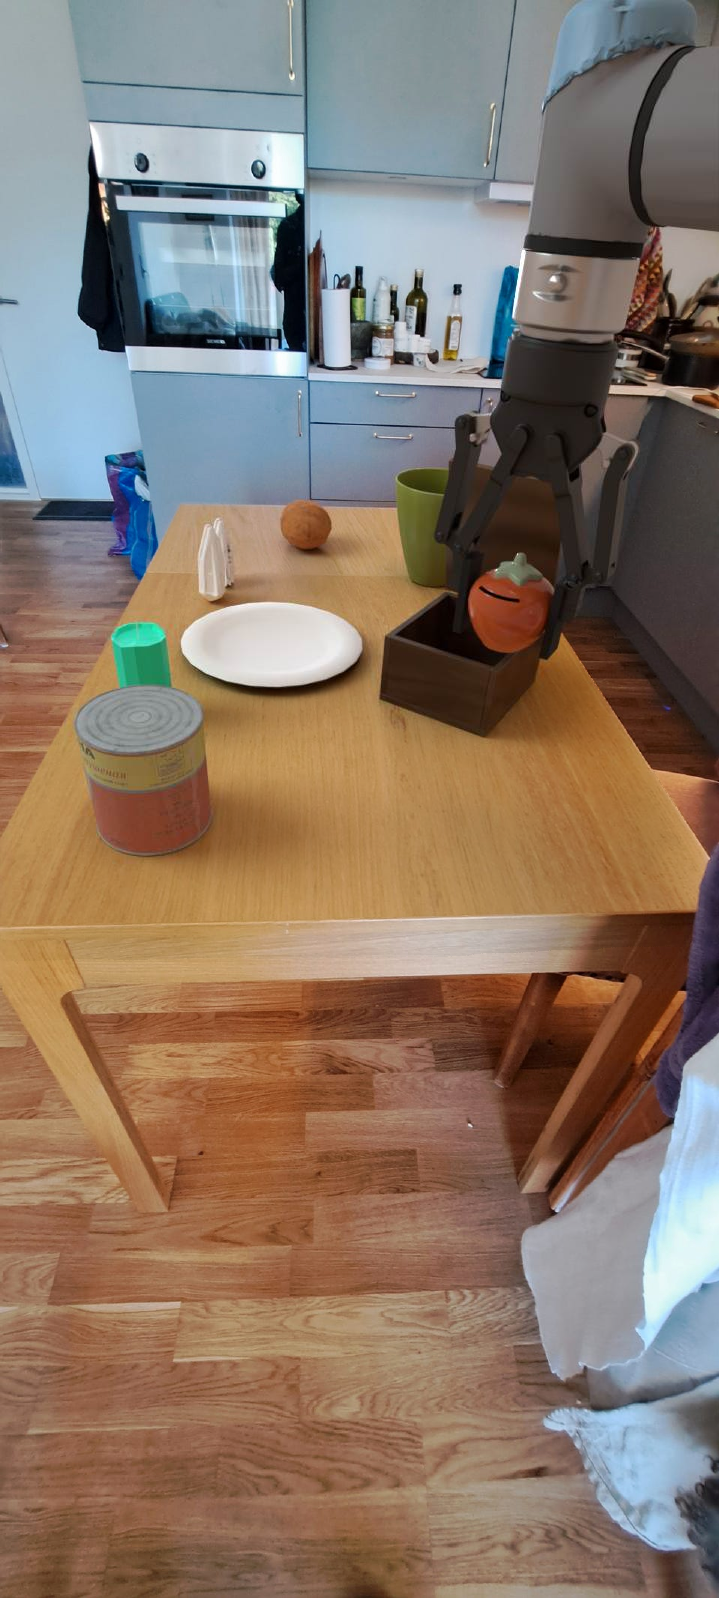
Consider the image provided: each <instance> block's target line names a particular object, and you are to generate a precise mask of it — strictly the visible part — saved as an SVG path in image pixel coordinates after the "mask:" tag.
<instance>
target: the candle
mask: <svg viewBox="0 0 719 1598" xmlns="http://www.w3.org/2000/svg"><path fill="white" fill-rule="evenodd" d="M134 621H135V622H127V623H125V624H122V625H120V626H118V627H116V628H115V630H114V631H113V632H112V634H111V636H110V640H111V646H112V652H113V659H114V663H115V669H116V675H117V680H118V688H121V687H127V686H134V685H161V686H167V687H172V688H173V685H172V676H171V668H170V660H169V651H168V644H167V643H168V642H167V636H166V632H165V629H164V628H162V627H161V626H160V625H158V624H157V623H156V622H147V621H146V622H145V621H142V622H141V621H140V622H138V621H136V620H134Z"/></svg>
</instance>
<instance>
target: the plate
mask: <svg viewBox="0 0 719 1598" xmlns="http://www.w3.org/2000/svg"><path fill="white" fill-rule="evenodd" d="M180 646H181V652H182V655H183V657H184V658H185V659H186V660H187V662H188V663H189V664H190V665H191V666H192V667H193V668H195V669H197V671H200V672H201V673H203V674H204V675H206V676H208V677H211V678H214V679H216V680H219V681H222V682H224V683H227V684H232V685H238V686H243V687H248V688H257V689H259V688H261V689H286V688H299V687H305V686H309V685H313V684H318V683H321V682H325V681H327V680H329V679H332V678H334V677H336V676H340V675H341V674H343V673H345V672H346V671H347V670H349V669H350V668H351V667H353V666H354V665H355V664H356V663H357V661H358V660H359V658H360V656H361V655H362V653H363V638H362V637H361V635H360V633H359V631H358V630H357V628H355V627H354V626H353V625H351V624H350V623H349V622H348V621H347V620H345V619H344V618H342V617H340V616H338V615H336V614H334V613H332V612H330V611H328V610H324V609H321V608H317V607H314V606H310V605H305V604H299V603H294V602H293V603H292V602H278V601H262V602H248V603H242V604H236V605H231V606H226V607H223V608H219V609H218V610H214V611H211V612H209V613H207V614H205V615H203V616H202V617H200V618H198V619H196V620H195V621H193V623H191V624H190V625H189V626H188V627H187V628H186V629H185V630H184V632H183V634H182V637H181V639H180Z"/></svg>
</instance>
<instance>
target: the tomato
mask: <svg viewBox="0 0 719 1598" xmlns="http://www.w3.org/2000/svg"><path fill="white" fill-rule="evenodd" d="M554 590H555V589H554V588H553V586H552V585H551V584H550V582H549V581H548V580H547V579H546V578H545V577H543V576H542V574H541V573H540V572H539V571H538V570H537V569H535V568H534V567H533V565H531V564H529V563H526V555H525V554H524V553H518V554H517V555H516V557H515V559H514V561H503V562H501V563H500V567H498V568H494V569H491V570H488V571H486V572H485V573H483V574H482V575H480V576H479V577H478V578H477V579H476V580H475V581H474V583H473V584H472V586H471V590H470V593H469V597H468V611H469V616H470V620H471V623H472V625H473V627H474V630H475V632H476V634H477V636H478V637H479V638H480V639H481V641H482V643H483V644H484V645H485V646H486V647H488V648H489V649H492V650H494V651H498V652H504V653H512V652H518V651H520V650H522V649H525V648H526V647H528V646H530V645H531V644H533V643H534V642H535V641H536V640H537V639H538V638H539V637H540V636H541V635H542V634H543V633H544V631H545V628H546V624H547V620H548V616H549V611H550V607H551V603H552V599H553V594H554Z"/></svg>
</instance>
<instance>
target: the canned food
mask: <svg viewBox="0 0 719 1598" xmlns="http://www.w3.org/2000/svg"><path fill="white" fill-rule="evenodd" d="M73 729H74V731H75V732H74V733H75V735H76V737H77V741H78V746H79V750H80V754H81V760H82V764H83V768H84V773H85V778H86V782H87V787H88V791H89V796H90V799H91V805H92V808H93V813H94V818H95V824H96V825H95V828H96V831H97V834H98V835H99V837H100V839H101V840H102V841H103V843H105V844H106V845H107V846H109V847H110V848H112V849H114V850H116V851H118V852H120V853H123V854H128V855H132V856H141V857H152V856H161V855H166V854H171V853H174V852H177V851H179V850H182V849H184V848H187V847H188V846H189V845H192V844H193V843H195V842H196V841H198V839H200V838H201V837H202V836H203V835H204V834H205V833H206V831H207V830H208V829H209V827H210V825H211V822H212V819H213V807H212V805H211V794H210V783H209V772H208V771H209V770H208V763H207V762H208V761H207V750H206V740H205V730H204V729H205V728H204V710H203V706H202V705H201V703H200V702H199V700H197V698H196V697H194V696H193V695H191V694H189V693H188V692H186V691H184V690H182V689H179V688H175V687H173V686H172V687H167V686H161V685H134V686H127V687H121V688H120V687H118V688H114V689H110V690H108V691H105V692H103V693H100V694H98V695H96V696H94V697H93V698H91V699H89V700H88V701H86V702H85V703H84V704H83V705H82V706H81V707H80V708H79V709H78V711H77V712H76V714H75V716H74V718H73Z"/></svg>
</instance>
